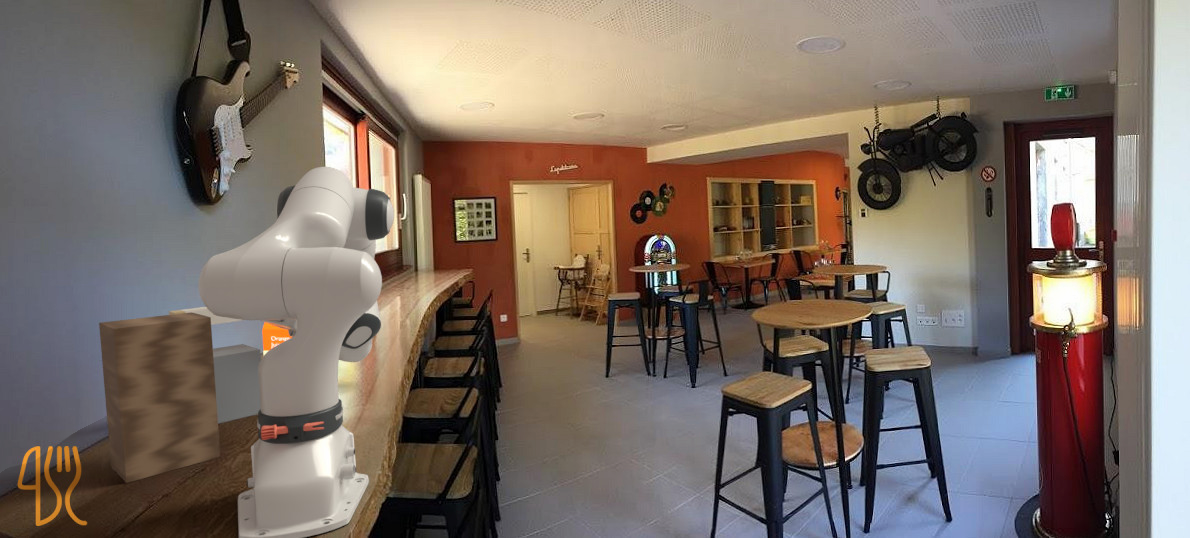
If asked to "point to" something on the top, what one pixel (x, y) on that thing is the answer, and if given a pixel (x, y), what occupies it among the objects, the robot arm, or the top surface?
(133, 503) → the top surface
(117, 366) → the walnut post
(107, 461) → the top surface
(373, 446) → the top surface
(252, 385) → the grey block
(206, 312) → the cream tan bar
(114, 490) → the top surface
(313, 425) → the robot arm
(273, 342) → the orange juice
